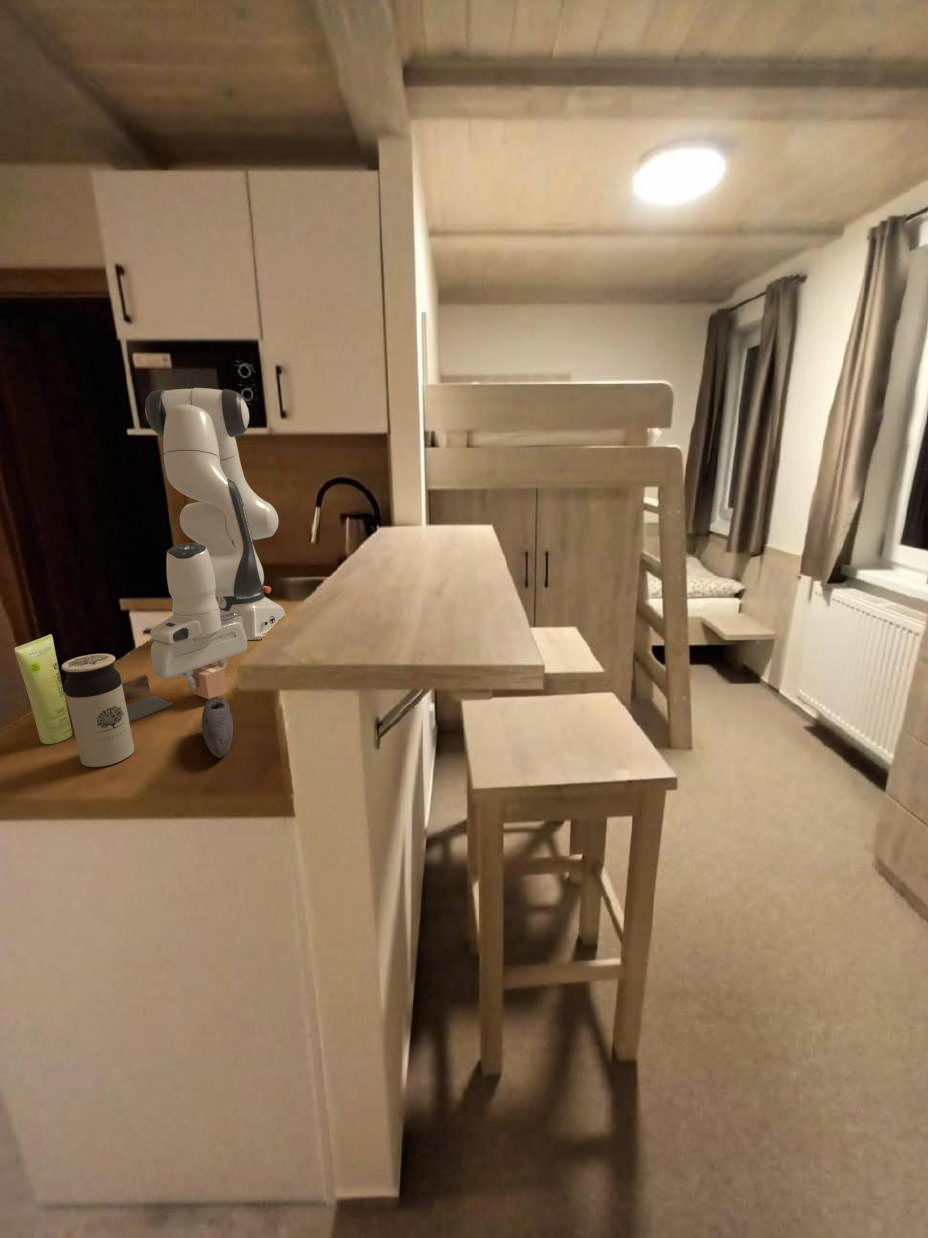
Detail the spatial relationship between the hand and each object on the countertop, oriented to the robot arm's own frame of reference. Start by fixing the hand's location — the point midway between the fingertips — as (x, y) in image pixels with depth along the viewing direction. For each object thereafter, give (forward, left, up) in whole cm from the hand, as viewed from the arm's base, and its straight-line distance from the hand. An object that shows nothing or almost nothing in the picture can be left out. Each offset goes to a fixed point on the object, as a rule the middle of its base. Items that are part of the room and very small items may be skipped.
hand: (207, 682), depth 118 cm
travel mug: (+24, +7, -4) cm, 26 cm away
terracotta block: (0, 0, -2) cm, 2 cm away
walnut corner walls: (+13, -8, -4) cm, 15 cm away
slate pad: (+11, -7, -4) cm, 14 cm away
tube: (+26, -8, -4) cm, 28 cm away
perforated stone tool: (+12, +20, -4) cm, 24 cm away
